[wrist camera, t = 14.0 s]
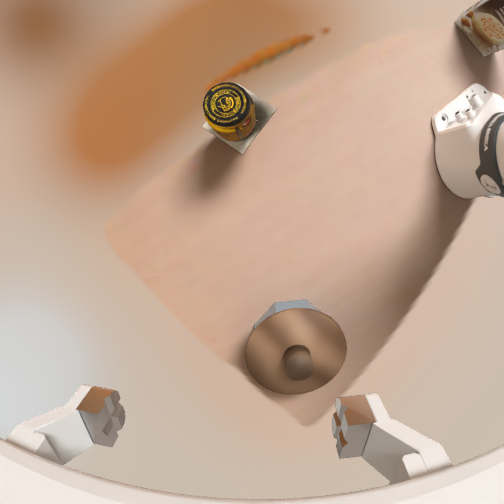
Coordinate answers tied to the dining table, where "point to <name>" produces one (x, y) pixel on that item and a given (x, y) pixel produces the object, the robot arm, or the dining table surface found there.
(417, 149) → the dining table surface
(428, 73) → the dining table surface
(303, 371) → the lid
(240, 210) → the dining table surface
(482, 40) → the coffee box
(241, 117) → the condiment
